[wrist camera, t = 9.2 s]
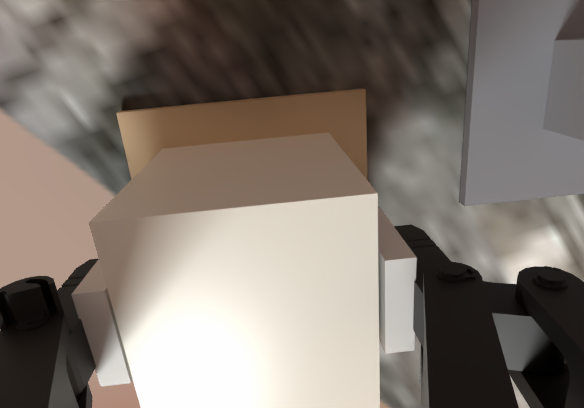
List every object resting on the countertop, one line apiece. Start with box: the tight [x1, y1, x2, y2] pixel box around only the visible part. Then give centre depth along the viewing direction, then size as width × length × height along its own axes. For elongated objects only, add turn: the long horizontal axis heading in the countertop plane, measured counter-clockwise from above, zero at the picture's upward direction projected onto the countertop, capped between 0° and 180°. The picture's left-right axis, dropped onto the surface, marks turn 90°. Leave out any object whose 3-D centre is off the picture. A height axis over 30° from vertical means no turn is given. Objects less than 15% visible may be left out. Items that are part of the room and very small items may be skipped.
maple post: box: [116, 88, 368, 181], centre depth 14 cm, size 9×9×6 cm
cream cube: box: [89, 132, 380, 408], centre depth 13 cm, size 6×6×7 cm
